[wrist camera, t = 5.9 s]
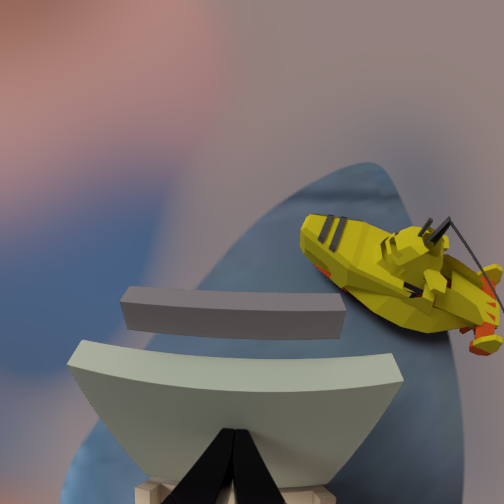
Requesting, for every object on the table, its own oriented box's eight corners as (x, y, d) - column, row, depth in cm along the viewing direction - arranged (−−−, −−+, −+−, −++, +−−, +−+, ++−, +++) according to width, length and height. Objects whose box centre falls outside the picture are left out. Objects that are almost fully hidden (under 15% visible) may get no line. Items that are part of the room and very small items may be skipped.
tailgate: (327, 483, 11) (427, 335, 6) (146, 475, 11) (44, 318, 6) (323, 455, 13) (399, 292, 8) (153, 447, 13) (77, 281, 8)
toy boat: (466, 369, 17) (553, 327, 8) (278, 291, 21) (297, 198, 12) (474, 305, 20) (543, 247, 11) (308, 230, 24) (333, 132, 16)
